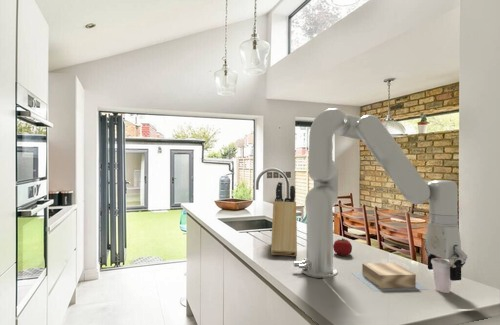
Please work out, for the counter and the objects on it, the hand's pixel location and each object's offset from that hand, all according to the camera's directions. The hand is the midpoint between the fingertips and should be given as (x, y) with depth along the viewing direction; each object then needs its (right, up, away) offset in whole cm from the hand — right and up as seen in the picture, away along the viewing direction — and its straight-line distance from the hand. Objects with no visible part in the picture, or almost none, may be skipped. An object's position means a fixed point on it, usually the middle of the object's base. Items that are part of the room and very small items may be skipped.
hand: (443, 274), depth 96 cm
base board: (-14, -6, +8) cm, 17 cm away
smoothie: (0, -6, 0) cm, 6 cm away
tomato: (-20, -6, +40) cm, 45 cm away
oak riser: (-14, -5, +8) cm, 17 cm away
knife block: (-44, -6, +51) cm, 68 cm away
